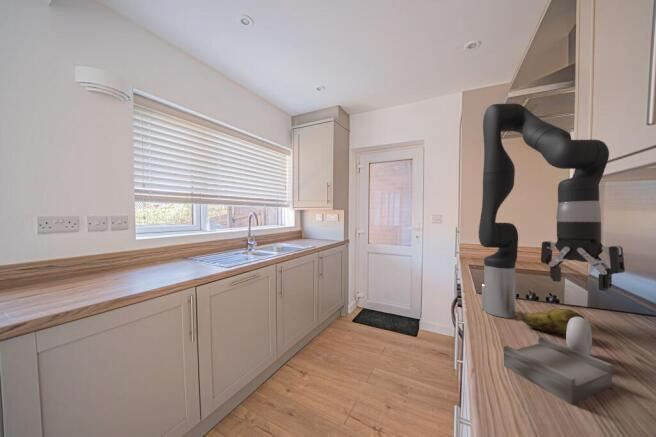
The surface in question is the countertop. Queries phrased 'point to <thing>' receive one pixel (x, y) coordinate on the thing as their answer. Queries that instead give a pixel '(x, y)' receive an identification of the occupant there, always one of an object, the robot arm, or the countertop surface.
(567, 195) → the robot arm
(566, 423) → the countertop surface
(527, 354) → the base
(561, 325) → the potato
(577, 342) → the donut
